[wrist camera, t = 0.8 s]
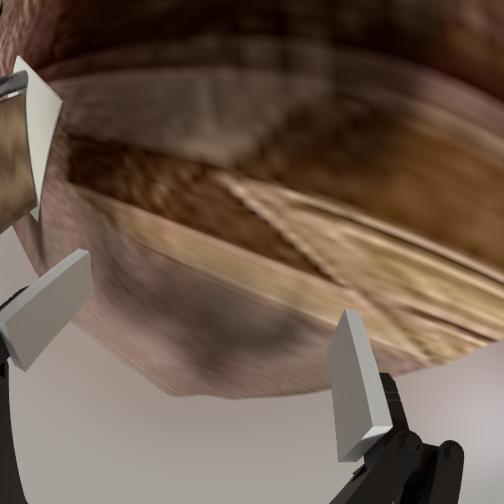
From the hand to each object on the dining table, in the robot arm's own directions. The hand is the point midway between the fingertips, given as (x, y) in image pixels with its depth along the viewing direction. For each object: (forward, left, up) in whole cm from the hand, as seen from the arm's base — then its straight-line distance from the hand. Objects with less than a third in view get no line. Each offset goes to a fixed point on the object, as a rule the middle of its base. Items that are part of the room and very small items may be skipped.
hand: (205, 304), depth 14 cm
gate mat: (-1, -38, -13) cm, 40 cm away
